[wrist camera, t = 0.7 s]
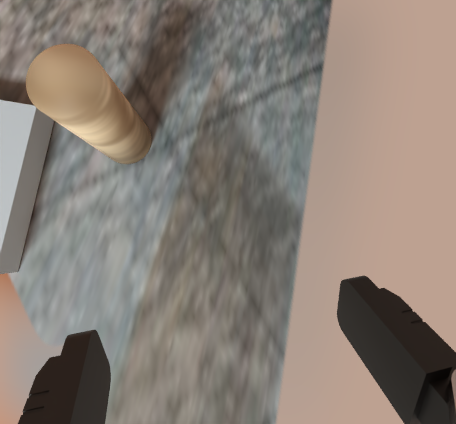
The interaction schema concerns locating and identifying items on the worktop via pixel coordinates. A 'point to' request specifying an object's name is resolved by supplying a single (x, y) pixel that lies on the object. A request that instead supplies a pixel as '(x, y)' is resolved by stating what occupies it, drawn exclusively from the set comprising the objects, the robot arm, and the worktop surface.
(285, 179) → the worktop surface
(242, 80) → the worktop surface
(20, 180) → the light grey plinth
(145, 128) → the maple pillar
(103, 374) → the robot arm
